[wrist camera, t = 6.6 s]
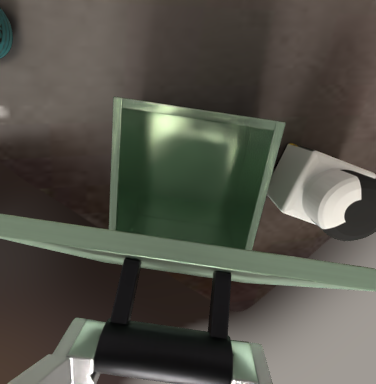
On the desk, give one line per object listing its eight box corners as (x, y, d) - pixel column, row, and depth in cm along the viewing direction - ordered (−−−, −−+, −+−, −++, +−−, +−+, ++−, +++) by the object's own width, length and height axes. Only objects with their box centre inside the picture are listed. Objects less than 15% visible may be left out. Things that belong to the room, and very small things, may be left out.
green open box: (140, 102, 28) (113, 96, 19) (257, 120, 28) (286, 122, 19) (132, 216, 33) (107, 255, 24) (232, 231, 33) (245, 275, 24)
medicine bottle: (338, 161, 30) (425, 189, 18) (310, 209, 32) (372, 261, 20) (287, 142, 29) (345, 158, 18) (262, 191, 31) (300, 235, 20)
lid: (-15, 211, 8) (-93, 376, 7) (377, 268, 9) (404, 446, 7) (106, 254, 24) (93, 307, 22) (246, 274, 24) (244, 329, 22)
